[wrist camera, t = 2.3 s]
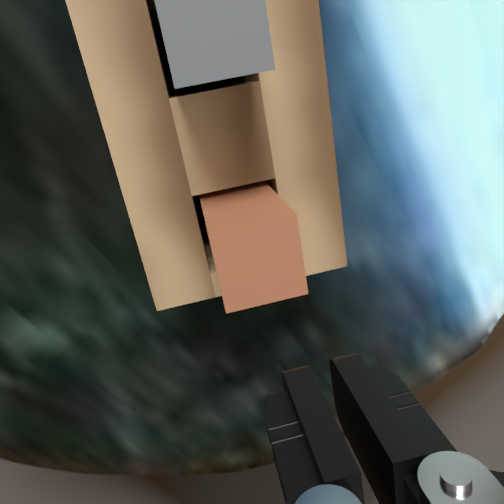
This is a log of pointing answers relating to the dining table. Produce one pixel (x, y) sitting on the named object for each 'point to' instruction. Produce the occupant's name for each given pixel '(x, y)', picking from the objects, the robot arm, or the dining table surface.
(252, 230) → the peg terracotta
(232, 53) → the peg grey
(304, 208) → the oak block
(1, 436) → the dining table surface
